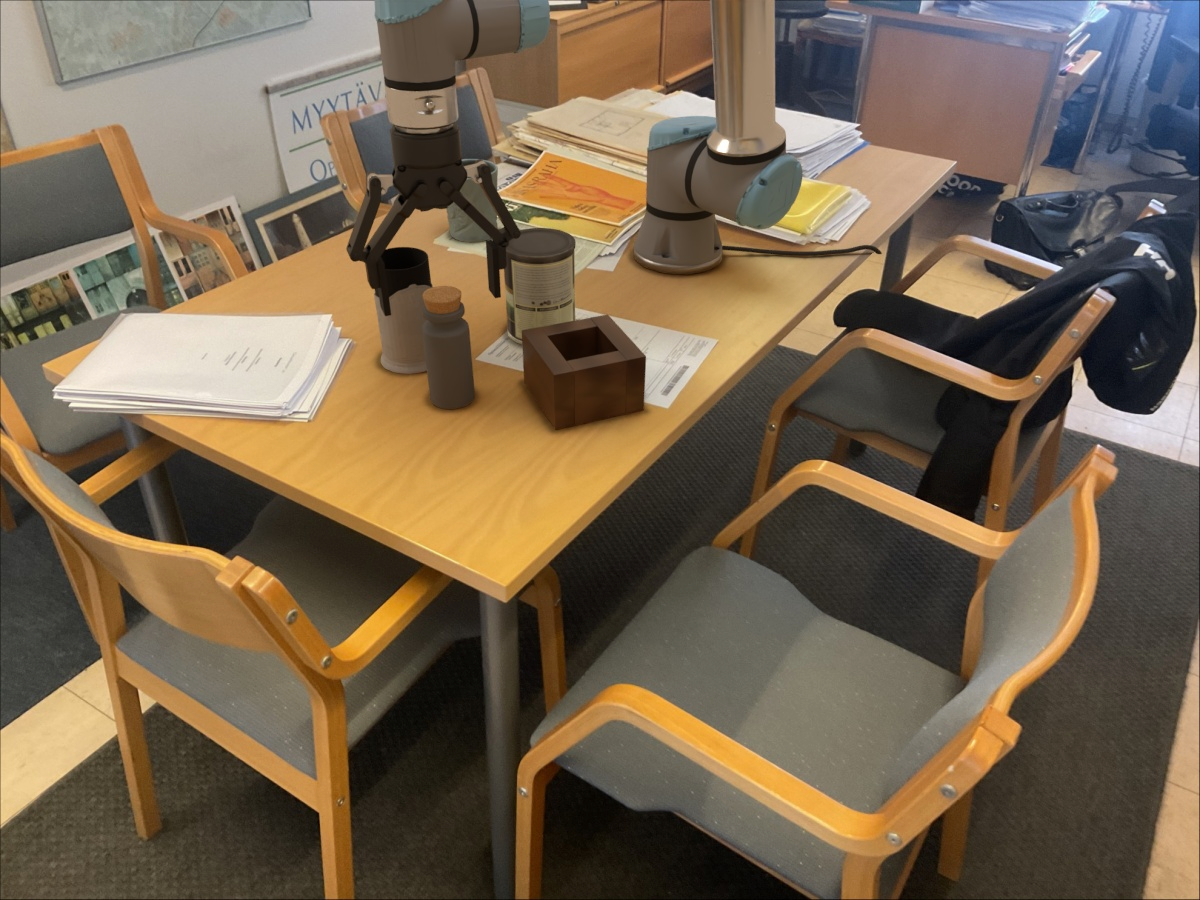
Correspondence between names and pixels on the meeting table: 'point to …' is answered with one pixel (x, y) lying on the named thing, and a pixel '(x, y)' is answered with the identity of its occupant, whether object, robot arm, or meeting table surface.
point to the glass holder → (404, 309)
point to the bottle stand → (583, 371)
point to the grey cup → (460, 221)
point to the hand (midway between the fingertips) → (441, 302)
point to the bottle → (447, 348)
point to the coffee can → (539, 280)
